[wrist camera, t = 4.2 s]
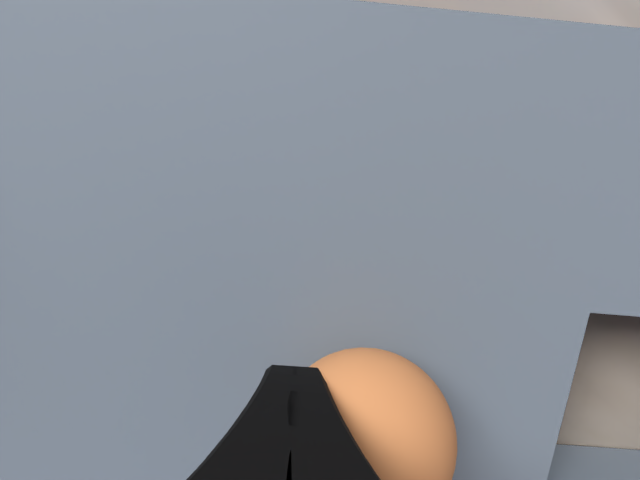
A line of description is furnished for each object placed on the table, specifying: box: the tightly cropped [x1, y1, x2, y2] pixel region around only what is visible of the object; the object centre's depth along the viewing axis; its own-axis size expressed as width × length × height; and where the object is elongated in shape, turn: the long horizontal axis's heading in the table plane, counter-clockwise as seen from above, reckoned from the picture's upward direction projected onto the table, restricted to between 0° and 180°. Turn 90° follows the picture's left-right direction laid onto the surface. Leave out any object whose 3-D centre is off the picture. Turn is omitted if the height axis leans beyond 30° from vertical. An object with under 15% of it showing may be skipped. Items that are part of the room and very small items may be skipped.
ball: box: [309, 347, 457, 480], centre depth 11 cm, size 3×3×3 cm
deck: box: [0, 0, 640, 480], centre depth 13 cm, size 16×22×4 cm
